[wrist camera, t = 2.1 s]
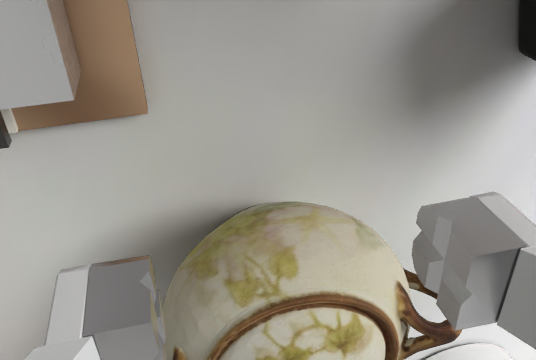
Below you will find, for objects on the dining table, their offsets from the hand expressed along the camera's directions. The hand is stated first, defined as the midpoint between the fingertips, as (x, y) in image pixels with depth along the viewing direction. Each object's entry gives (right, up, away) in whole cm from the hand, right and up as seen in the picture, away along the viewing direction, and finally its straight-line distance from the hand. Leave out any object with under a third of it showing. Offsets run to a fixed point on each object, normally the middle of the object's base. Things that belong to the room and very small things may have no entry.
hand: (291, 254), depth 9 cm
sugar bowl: (-1, -3, +26) cm, 26 cm away
